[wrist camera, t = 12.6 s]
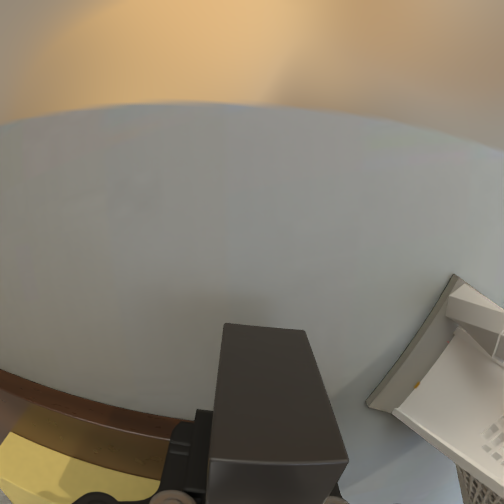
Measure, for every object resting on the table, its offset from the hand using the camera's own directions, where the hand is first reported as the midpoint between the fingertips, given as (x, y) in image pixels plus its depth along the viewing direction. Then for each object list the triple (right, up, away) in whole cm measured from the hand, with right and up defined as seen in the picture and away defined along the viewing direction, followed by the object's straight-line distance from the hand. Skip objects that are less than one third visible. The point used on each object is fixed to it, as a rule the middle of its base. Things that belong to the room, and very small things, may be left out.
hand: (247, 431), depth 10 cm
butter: (-9, -7, +3) cm, 12 cm away
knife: (-1, -4, +1) cm, 5 cm away
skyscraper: (+11, 0, +3) cm, 11 cm away
